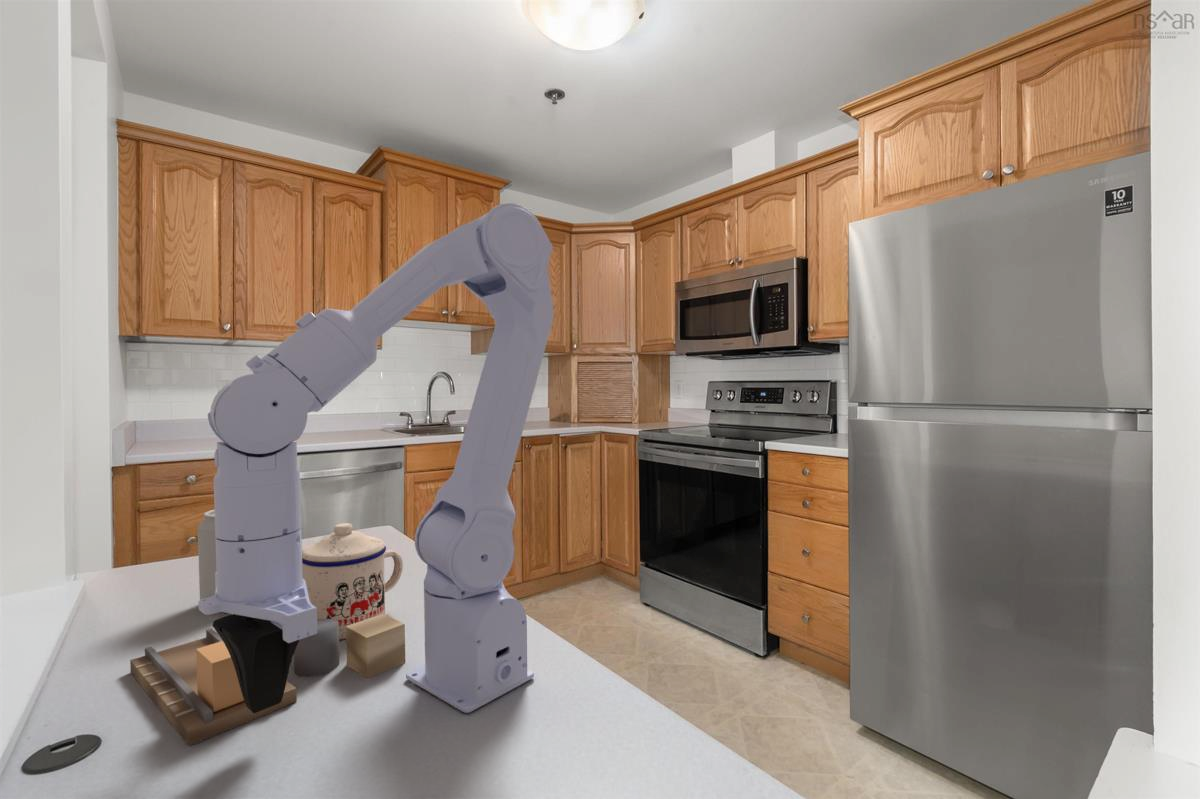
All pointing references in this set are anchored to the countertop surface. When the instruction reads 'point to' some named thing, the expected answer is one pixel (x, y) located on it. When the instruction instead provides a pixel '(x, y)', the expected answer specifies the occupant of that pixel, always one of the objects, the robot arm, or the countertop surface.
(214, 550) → the can
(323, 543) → the teacup with lid
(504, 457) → the robot arm
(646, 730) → the countertop surface
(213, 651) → the slider
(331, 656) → the charcoal cylinder
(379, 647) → the oak block
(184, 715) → the board
